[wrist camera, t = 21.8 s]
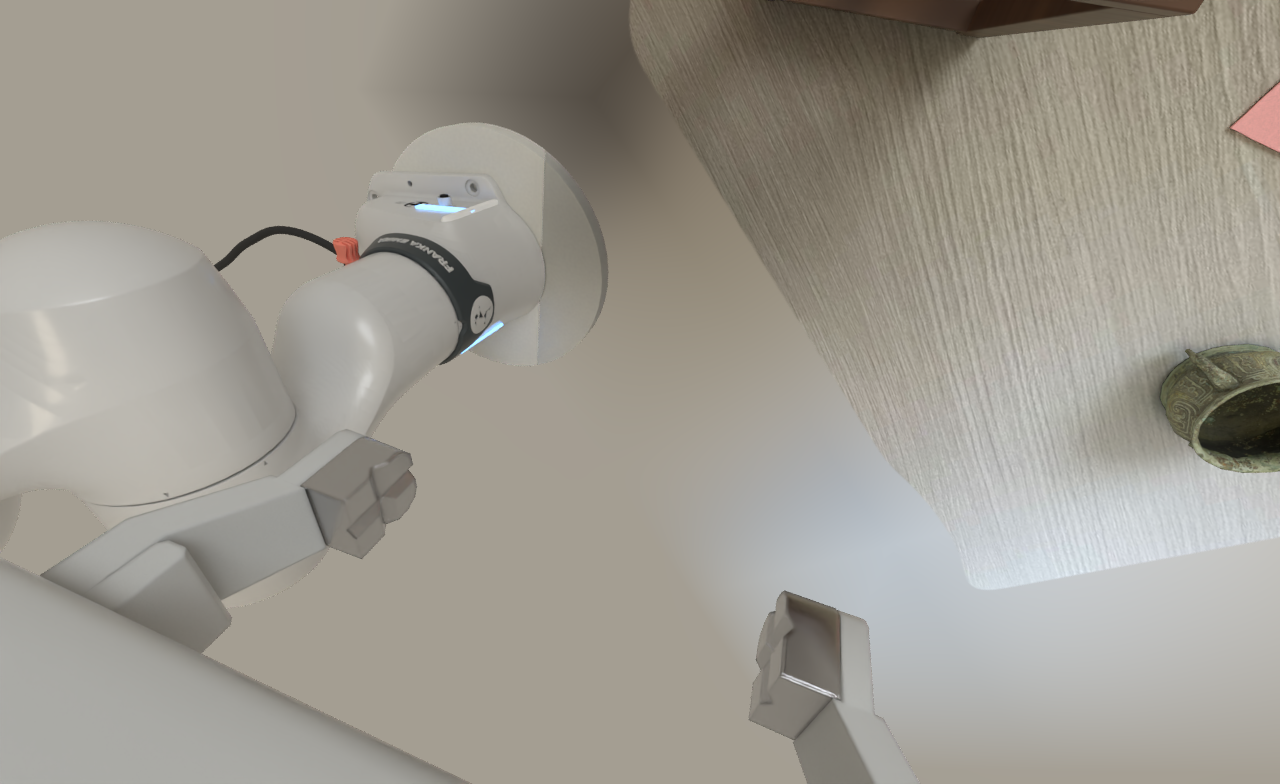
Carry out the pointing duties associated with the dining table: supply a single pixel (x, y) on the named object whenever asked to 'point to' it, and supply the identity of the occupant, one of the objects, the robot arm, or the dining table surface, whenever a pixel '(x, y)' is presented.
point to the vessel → (1228, 406)
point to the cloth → (1263, 120)
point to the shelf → (1009, 13)
